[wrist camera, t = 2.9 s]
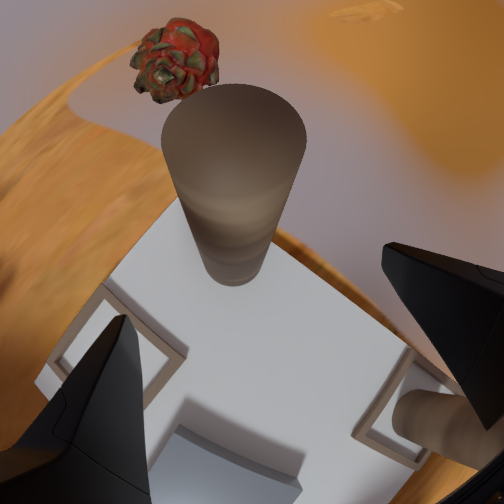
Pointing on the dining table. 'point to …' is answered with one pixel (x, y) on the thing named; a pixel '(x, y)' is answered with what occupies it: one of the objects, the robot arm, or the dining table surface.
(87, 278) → the dining table surface
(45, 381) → the board
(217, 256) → the pin
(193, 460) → the cover
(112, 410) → the robot arm
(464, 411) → the pin
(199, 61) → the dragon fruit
